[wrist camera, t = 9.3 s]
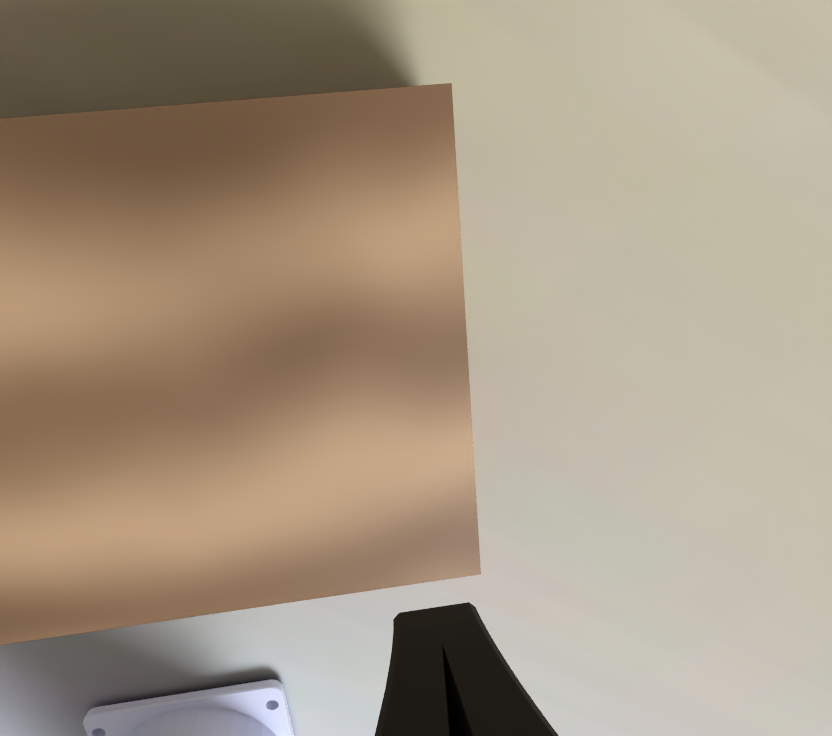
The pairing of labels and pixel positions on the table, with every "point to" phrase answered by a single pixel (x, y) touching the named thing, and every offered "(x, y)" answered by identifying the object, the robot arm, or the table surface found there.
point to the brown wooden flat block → (230, 358)
